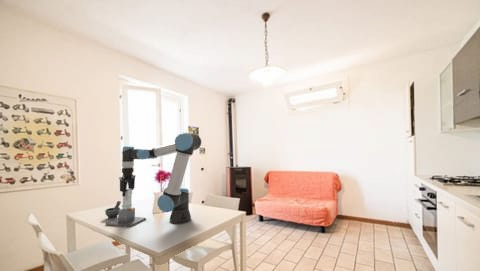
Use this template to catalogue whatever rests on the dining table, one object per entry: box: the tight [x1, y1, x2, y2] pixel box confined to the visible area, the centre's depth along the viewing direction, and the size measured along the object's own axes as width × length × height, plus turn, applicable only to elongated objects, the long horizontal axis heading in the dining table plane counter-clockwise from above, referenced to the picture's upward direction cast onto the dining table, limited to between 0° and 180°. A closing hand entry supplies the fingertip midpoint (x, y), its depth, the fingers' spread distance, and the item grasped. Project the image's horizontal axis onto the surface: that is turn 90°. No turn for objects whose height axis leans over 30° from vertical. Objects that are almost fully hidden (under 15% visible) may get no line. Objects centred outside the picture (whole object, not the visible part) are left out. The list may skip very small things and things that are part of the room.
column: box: [121, 187, 133, 210], centre depth 153 cm, size 5×4×17 cm
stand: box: [105, 207, 147, 228], centre depth 152 cm, size 20×16×10 cm
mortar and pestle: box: [104, 200, 122, 221], centre depth 163 cm, size 11×9×12 cm
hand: (127, 199), depth 153 cm, fingers closed on column, 4 cm apart
